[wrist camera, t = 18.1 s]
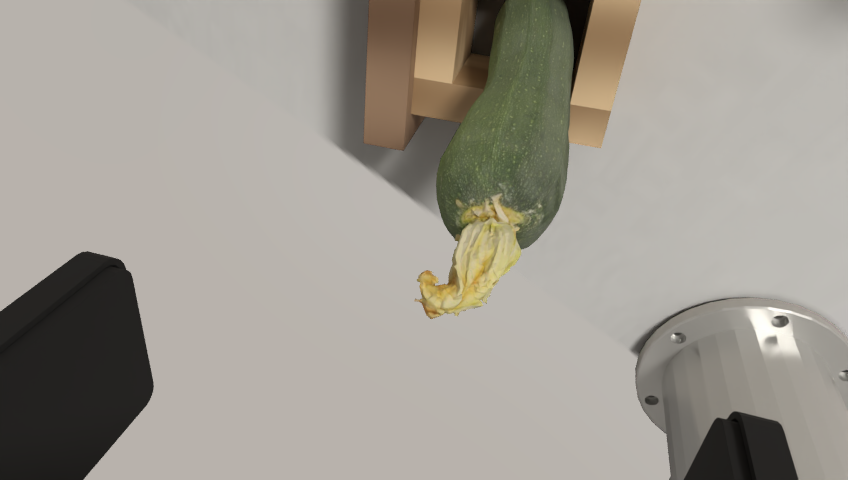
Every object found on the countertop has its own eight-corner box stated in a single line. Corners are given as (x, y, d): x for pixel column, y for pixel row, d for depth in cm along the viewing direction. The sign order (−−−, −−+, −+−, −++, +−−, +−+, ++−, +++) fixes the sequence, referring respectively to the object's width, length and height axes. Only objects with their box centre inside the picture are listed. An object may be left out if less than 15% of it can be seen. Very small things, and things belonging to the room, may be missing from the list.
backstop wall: (431, 106, 35) (403, 150, 30) (397, 100, 35) (363, 143, 30) (457, -145, 28) (426, -142, 23) (414, -150, 28) (374, -148, 23)
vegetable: (598, 9, 30) (589, 346, 16) (533, 66, 33) (478, 396, 19) (533, -56, 29) (462, 255, 15) (471, 9, 31) (363, 322, 18)
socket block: (601, 109, 33) (600, 148, 28) (434, 80, 34) (411, 113, 30) (651, -83, 28) (659, -69, 23) (453, -108, 29) (428, -99, 25)
